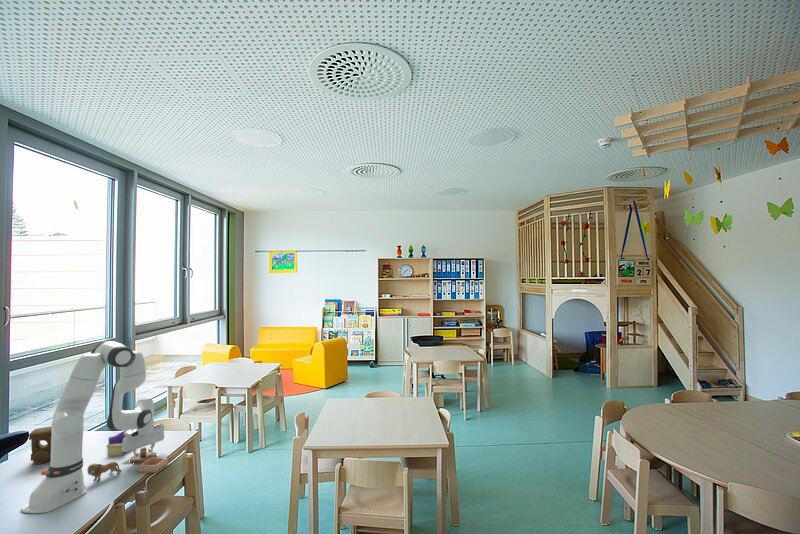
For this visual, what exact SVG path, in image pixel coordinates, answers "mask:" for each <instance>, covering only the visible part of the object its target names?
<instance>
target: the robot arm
mask: <svg viewBox="0 0 800 534" xmlns="http://www.w3.org/2000/svg"><path fill="white" fill-rule="evenodd" d="M107 366H111V367H113V368H119V380H118V381H117V382H116V383H114V385H113V389H112V392H111V399H110V405H109V412H108V415H107V420H106V426H107V428H108V429H109V430H110V431H112V432H116V431H117V432H118V431H124V430H127V431H125V432H124V435H125V437H124V438H123V441H122V451H124V452H123V453H128V452H132V454H133V456H134V457H137V456H138V454H139V453H140V452H137V449H139V448H140V449H141V448H144V447H147V446H149V445H150V447H149V448H148V451H147V452H154V447H155V446H156V443H158V442H163V441H164V439H165V425H164V424H162V423H158V424H155V421H154V415H155V405H154V400H153V399H151V398H143V399H138V400H137V401H136V403H135V408H134V409H129V410H128V409H126V410H124V409H123V401H124V395H125V394H126V393H129V392H131V391H134V390H135V389H138V388H140V387H141V386H142V385H143V384H144V383H145V381H146V379H147V371H146V370H147V369H146V362H145V358H144V355H143V353H142V352H141V351H137V350H132V349H131V348H130V347H129V346H128V345H124V344H123V343H121V342H118V341H114V340H103V341H101V342H99V343H98V344H97V345H96V346H95V347H94V348H93V350H91V351H90V353H87V354H83V355H81V356H80V357H79V359H78V360H77V362H76V364H75V365H74V367H73V368H72V371H71V374H70V376H69V378H68V380H67V383H66V385H65V388H64V391H63V393H62V396H61V397H60V400H59V402H58V404H57V406H56V408H55V410H54V412H53V413H54V414H53V416H52V422H51V426H52V432H51V457H50V463H49V465H48V468H47V469H42V470H41V472H40V475H41V476H45V477H44V478H43V479H42V481H40V483H39V484H38V485H37V486H36V487H35V488H34V489H33V491H31V494H30V496H29V499H28V502H27V503H26V504H24V505H23V506H22V507H21V508H20V511H21V513H26V514H42V513H50V512H52V511H54V510H56V509H58V508H60V507H62V506H63V505H66V504H67V503H70V502H72V501H73V500H75V499H77V498H80V497H81V496H83V495H85V494H86V493H87V491H86V485H85V481H84V473H83V467H84V458H83V442H84V438H83V437H84V425H85V424H84V423H85V421H84V420H85V418H84V416H85V412H86V410H87V407H88V406H89V403H90V401H91V399H92V398H93V396H94V393H95V390H96V387H97V385H98V382H99V379H100V377H101V374H102V372H103V370H104V369H105V368H106V367H107Z"/></svg>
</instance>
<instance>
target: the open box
mask: <svg viewBox="0 0 800 534" xmlns="http://www.w3.org/2000/svg"><path fill="white" fill-rule="evenodd" d="M168 461H169V459H168V457H158V458H154V457H151V458H149V459H148V460H146V461H145V462H143V463H142V464H140V465H137V467H138V470H137V471H138V473H150V474H151V473H153V474H154V473H155V474H156V473H157V472H159V471H160V470H161V469H163V468H164V467H166V466H168ZM159 469H160V470H159ZM158 470H159V471H158Z"/></svg>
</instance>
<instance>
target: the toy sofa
mask: <svg viewBox="0 0 800 534" xmlns="http://www.w3.org/2000/svg"><path fill="white" fill-rule="evenodd" d="M125 431H127V430H121V431H120V432H119V433H116V434H115V435H113V436H108V439H107V440H108V441H107V442H108V443H107V444H106V448H107V453H106V456H107V457H110V456H123V455H124V453H125V452H124V451H122V441H123V438H124V437H125V435H124V432H125Z"/></svg>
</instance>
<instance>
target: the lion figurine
mask: <svg viewBox="0 0 800 534" xmlns="http://www.w3.org/2000/svg"><path fill="white" fill-rule="evenodd" d="M109 470H110V473H107V472H108V471H109ZM86 471H87V475H89V476H91V477H94V479H93V481H96V482H101V476H102V474H103V473H107V474H108V476H110V475H112V474H113V472H116V475H120V472H122V470H121V469H120V465H119V464H118V462H116V461H110V462H108V463H106V464H104V465H103V464H101V463H92V464H89V465H88V467H87V470H86Z"/></svg>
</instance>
